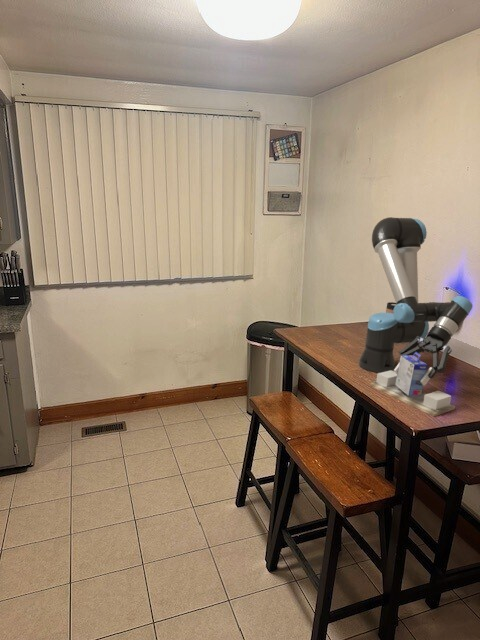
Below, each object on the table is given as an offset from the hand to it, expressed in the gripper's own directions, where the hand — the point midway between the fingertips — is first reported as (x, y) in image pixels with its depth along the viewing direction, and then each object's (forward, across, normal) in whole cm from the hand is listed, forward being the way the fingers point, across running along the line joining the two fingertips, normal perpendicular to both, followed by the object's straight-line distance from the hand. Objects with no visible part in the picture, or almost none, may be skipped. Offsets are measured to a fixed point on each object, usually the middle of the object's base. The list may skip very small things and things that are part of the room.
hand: (408, 377), depth 159 cm
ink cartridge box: (+3, 0, -4) cm, 5 cm away
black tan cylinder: (-30, +50, -42) cm, 72 cm away
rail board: (+4, 0, -8) cm, 9 cm away
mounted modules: (+3, 0, -7) cm, 7 cm away
